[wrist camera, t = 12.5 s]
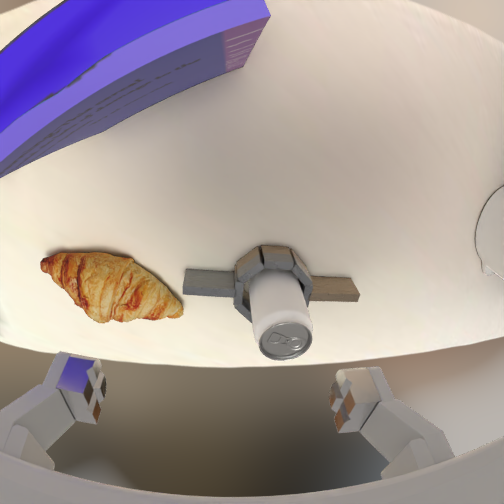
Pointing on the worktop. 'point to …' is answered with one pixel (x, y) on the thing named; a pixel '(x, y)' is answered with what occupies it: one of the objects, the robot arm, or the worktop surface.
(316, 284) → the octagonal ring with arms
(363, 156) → the worktop surface
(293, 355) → the can
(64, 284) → the croissant
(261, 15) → the cereal box
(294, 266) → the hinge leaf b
